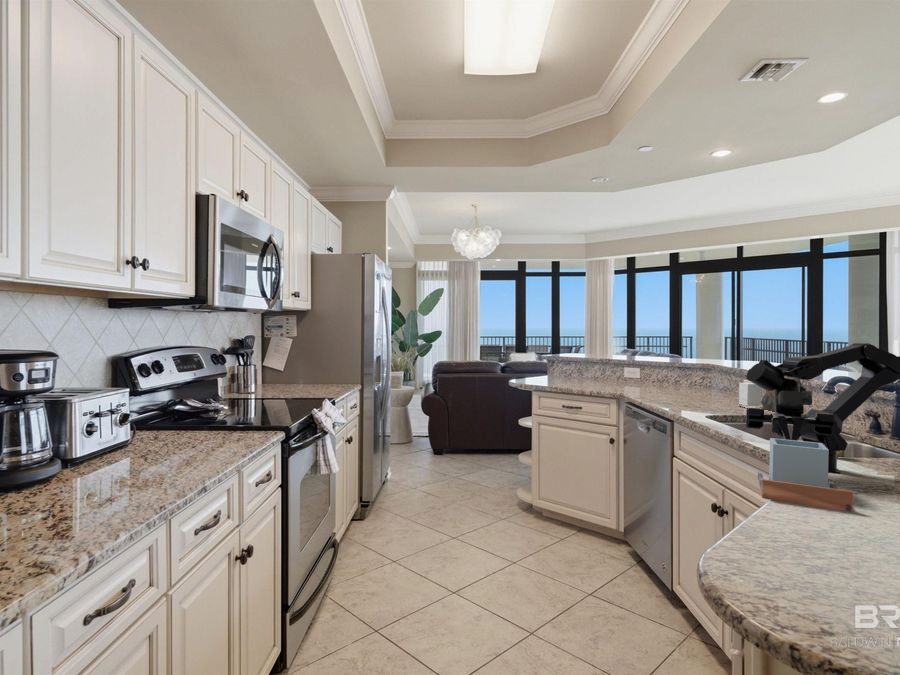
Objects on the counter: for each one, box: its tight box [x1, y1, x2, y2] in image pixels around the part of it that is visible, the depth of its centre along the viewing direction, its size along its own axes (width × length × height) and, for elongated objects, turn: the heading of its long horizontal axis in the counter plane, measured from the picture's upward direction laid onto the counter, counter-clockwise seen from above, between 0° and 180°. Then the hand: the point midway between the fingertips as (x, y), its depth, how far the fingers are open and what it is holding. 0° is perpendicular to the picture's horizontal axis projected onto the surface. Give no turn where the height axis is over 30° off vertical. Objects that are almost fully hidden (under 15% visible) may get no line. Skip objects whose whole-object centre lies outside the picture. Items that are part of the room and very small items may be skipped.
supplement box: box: [738, 382, 763, 406], centre depth 248 cm, size 7×7×13 cm
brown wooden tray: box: [757, 471, 854, 512], centre depth 108 cm, size 18×15×5 cm
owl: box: [761, 376, 803, 412], centre depth 227 cm, size 13×13×20 cm
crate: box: [768, 437, 829, 488], centre depth 112 cm, size 8×10×10 cm
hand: (791, 449), depth 120 cm, fingers closed
